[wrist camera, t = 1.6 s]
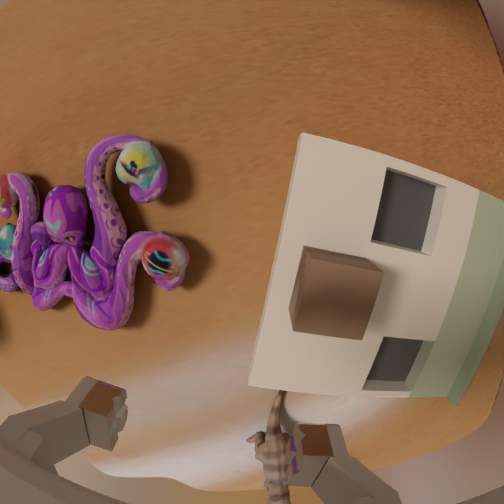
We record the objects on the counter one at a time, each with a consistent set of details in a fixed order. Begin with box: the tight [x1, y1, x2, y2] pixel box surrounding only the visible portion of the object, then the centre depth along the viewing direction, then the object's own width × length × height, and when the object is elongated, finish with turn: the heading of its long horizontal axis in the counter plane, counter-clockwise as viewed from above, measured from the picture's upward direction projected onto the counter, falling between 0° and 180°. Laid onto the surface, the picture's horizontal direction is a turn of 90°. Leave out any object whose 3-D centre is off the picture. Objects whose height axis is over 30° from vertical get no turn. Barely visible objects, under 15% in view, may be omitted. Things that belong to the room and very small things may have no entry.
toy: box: [246, 390, 291, 504], centre depth 31 cm, size 7×17×10 cm
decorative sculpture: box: [0, 134, 190, 330], centre depth 28 cm, size 29×5×20 cm
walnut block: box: [288, 245, 384, 340], centre depth 25 cm, size 6×6×4 cm
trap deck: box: [248, 133, 504, 405], centre depth 28 cm, size 25×27×4 cm
